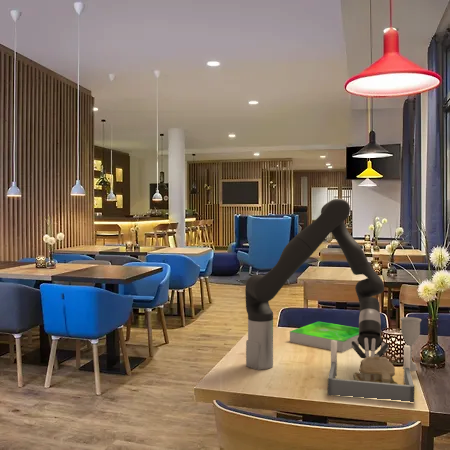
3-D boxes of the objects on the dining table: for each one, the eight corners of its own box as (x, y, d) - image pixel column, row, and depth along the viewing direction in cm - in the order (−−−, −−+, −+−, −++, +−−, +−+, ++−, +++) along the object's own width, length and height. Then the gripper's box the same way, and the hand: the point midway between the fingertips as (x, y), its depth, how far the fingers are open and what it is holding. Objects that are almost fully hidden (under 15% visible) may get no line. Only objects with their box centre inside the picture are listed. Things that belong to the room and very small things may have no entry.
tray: (289, 342, 216) (289, 331, 216) (318, 331, 235) (318, 321, 235) (342, 353, 200) (342, 341, 200) (368, 340, 219) (368, 329, 219)
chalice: (421, 367, 181) (422, 318, 180) (420, 372, 174) (421, 321, 174) (400, 364, 184) (400, 316, 183) (398, 370, 177) (399, 320, 177)
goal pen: (415, 403, 147) (416, 363, 146) (326, 395, 154) (326, 356, 153) (409, 381, 166) (410, 345, 166) (331, 374, 173) (331, 340, 173)
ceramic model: (395, 380, 167) (395, 350, 167) (401, 392, 156) (402, 360, 156) (352, 378, 169) (352, 349, 169) (355, 390, 158) (355, 358, 158)
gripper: (350, 317, 177) (349, 361, 166) (389, 319, 174) (391, 365, 162) (350, 328, 183) (349, 372, 171) (388, 331, 179) (390, 375, 168)
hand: (369, 368), depth 167 cm, fingers closed
